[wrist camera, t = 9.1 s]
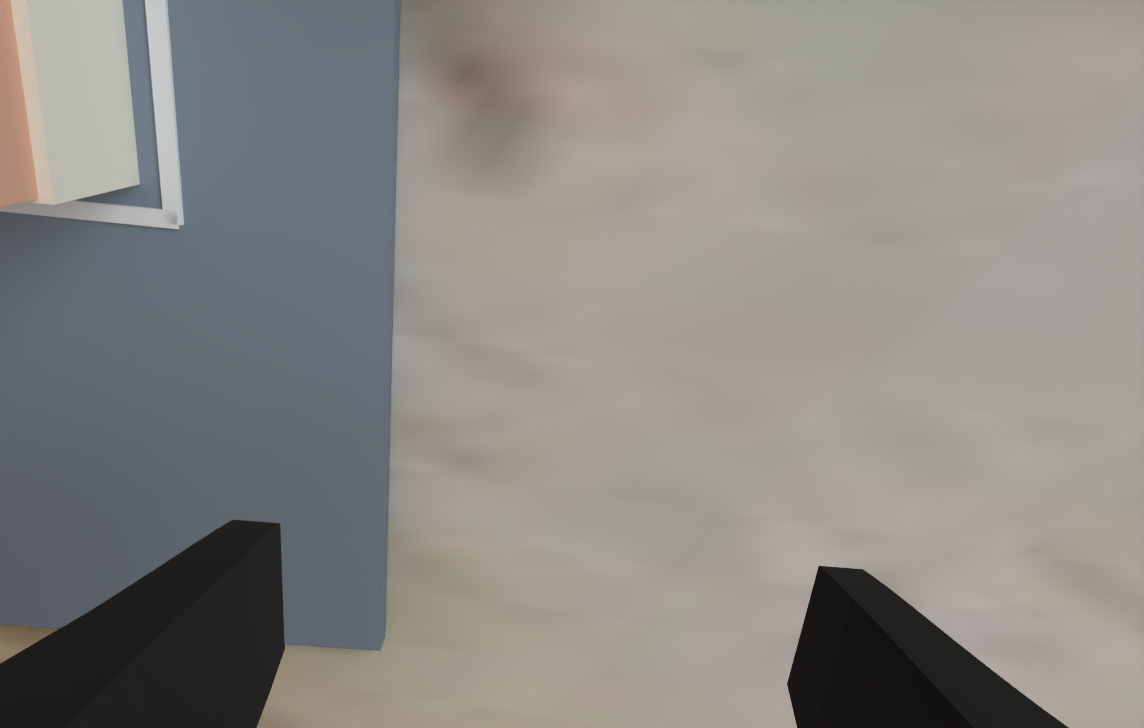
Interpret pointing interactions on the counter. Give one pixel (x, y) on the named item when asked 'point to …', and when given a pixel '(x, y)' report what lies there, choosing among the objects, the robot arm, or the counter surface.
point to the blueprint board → (201, 301)
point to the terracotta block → (13, 120)
